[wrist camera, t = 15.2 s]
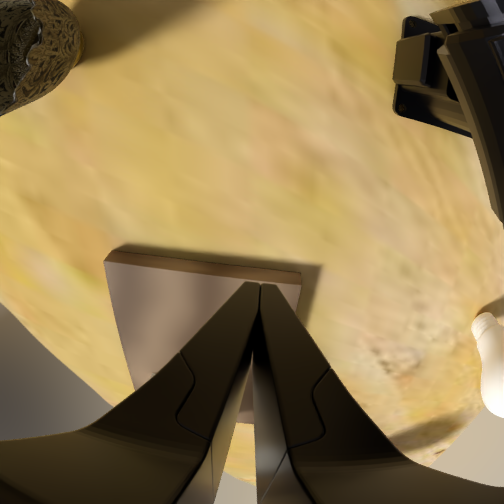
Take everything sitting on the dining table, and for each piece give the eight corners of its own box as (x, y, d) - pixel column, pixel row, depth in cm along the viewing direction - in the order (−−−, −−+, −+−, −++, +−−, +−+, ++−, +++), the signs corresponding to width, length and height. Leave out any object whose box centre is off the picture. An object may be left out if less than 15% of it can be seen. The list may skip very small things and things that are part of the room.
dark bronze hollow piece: (32, 13, 13) (-49, 11, 6) (118, -11, 13) (41, -40, 6) (28, 107, 17) (-53, 133, 10) (111, 95, 17) (29, 114, 10)
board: (300, 272, 22) (301, 285, 21) (267, 414, 32) (266, 425, 31) (111, 250, 23) (103, 260, 21) (143, 395, 32) (140, 405, 31)
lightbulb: (441, 323, 24) (486, 426, 15) (491, 279, 22) (554, 372, 12) (465, 349, 26) (503, 437, 16) (510, 310, 23) (560, 393, 14)
